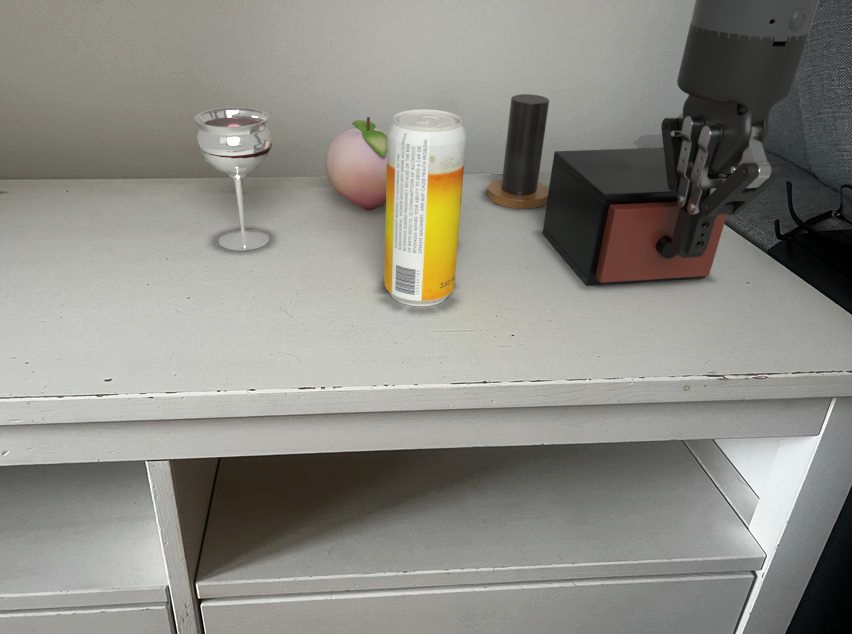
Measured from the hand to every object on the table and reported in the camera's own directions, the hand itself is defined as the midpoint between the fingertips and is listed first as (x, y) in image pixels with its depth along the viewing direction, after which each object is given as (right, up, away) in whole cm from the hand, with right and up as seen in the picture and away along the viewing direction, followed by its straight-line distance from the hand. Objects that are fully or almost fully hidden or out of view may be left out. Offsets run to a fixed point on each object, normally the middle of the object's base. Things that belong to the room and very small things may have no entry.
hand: (686, 253), depth 58 cm
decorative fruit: (-27, +7, +20) cm, 34 cm away
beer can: (-22, -3, +5) cm, 22 cm away
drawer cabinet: (-2, +1, +12) cm, 12 cm away
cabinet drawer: (-1, +1, +9) cm, 9 cm away
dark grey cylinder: (-9, +11, +24) cm, 27 cm away
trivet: (-9, +10, +24) cm, 28 cm away
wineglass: (-39, +3, +13) cm, 41 cm away
